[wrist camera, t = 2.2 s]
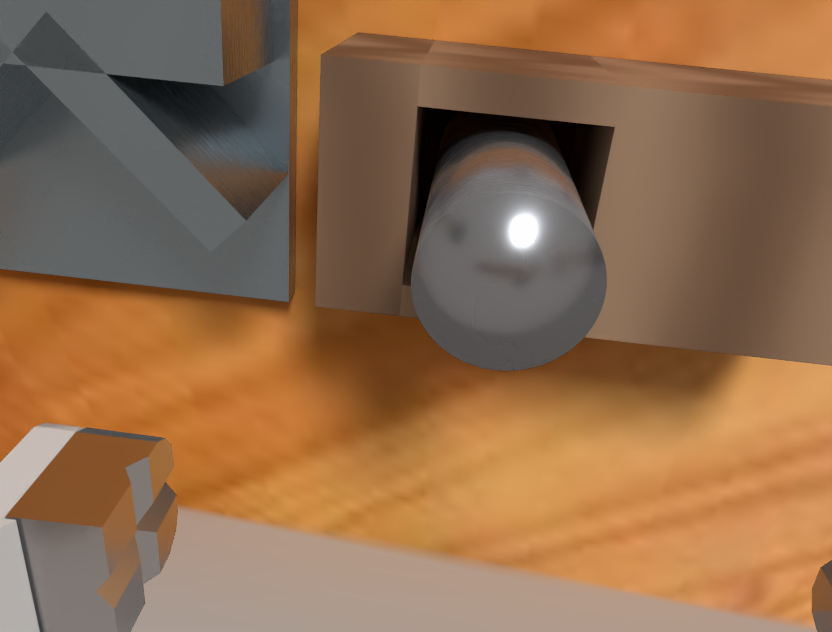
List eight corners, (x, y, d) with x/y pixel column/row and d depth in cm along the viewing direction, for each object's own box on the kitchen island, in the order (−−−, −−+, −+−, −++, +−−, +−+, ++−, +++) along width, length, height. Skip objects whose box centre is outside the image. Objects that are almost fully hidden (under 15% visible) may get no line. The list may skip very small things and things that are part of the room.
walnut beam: (860, 83, 22) (978, 122, 17) (788, 284, 26) (869, 369, 20) (358, 32, 23) (321, 54, 18) (348, 235, 26) (315, 306, 21)
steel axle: (566, 102, 23) (626, 204, 14) (545, 217, 25) (586, 380, 15) (445, 89, 24) (419, 182, 14) (434, 204, 25) (403, 359, 16)
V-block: (298, -60, 22) (239, -67, 17) (295, 290, 27) (249, 371, 22) (-79, -97, 22) (-254, -114, 17) (-8, 256, 28) (-125, 326, 22)
